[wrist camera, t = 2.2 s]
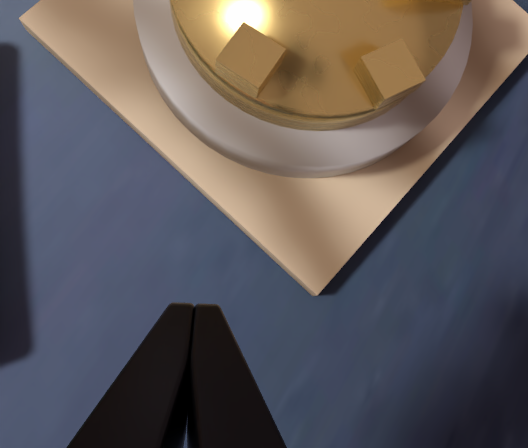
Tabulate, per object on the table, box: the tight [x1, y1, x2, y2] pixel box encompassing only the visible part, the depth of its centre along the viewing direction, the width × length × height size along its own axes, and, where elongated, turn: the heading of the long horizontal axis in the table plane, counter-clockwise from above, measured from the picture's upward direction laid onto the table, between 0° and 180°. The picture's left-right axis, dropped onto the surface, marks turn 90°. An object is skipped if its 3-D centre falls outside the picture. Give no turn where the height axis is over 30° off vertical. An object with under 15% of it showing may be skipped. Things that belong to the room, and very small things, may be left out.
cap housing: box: [19, 0, 528, 296], centre depth 22 cm, size 18×18×3 cm
